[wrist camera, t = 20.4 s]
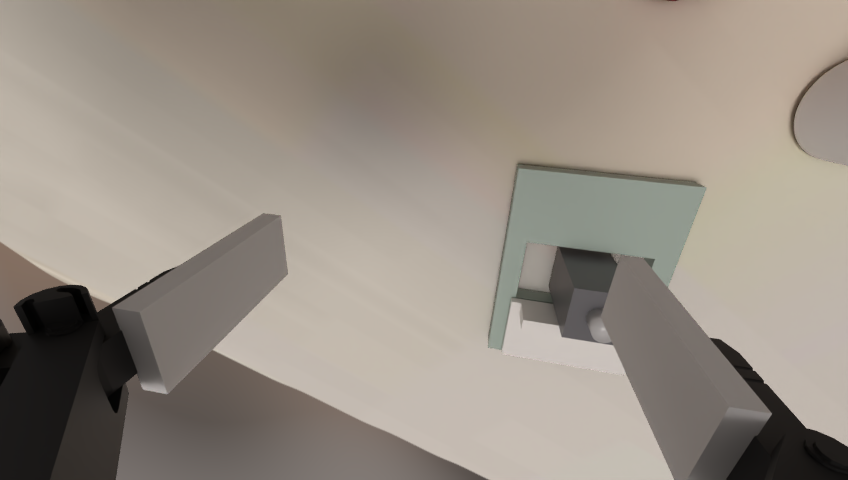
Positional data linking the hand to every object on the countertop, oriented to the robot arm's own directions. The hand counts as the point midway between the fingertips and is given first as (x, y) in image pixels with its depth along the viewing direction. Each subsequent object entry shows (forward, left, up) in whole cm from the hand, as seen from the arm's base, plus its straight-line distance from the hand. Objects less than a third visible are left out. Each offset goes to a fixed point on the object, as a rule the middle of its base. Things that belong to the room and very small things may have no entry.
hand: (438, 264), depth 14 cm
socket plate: (+11, +12, -24) cm, 29 cm away
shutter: (+17, +12, -22) cm, 30 cm away
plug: (+11, +12, -24) cm, 29 cm away
